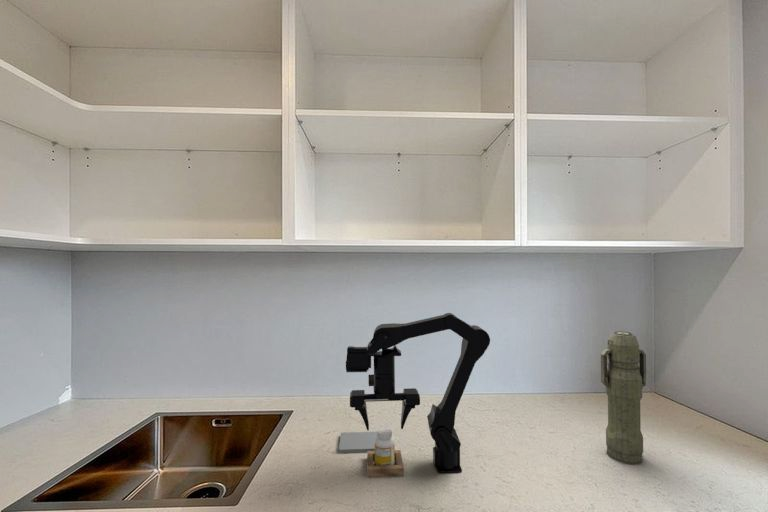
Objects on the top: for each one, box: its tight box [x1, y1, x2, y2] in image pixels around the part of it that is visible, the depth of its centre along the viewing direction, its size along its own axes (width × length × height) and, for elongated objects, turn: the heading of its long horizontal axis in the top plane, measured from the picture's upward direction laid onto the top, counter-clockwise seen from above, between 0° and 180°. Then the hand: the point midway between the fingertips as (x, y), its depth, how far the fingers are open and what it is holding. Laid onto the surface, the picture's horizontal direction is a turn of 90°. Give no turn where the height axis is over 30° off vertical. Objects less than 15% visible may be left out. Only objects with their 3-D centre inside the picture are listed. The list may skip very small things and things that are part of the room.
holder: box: [366, 449, 405, 478], centre depth 104 cm, size 9×9×2 cm
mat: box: [338, 431, 377, 454], centre depth 117 cm, size 12×11×1 cm
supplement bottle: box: [374, 427, 396, 466], centre depth 104 cm, size 5×5×10 cm
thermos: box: [600, 330, 647, 466], centre depth 108 cm, size 9×12×35 cm
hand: (384, 429), depth 104 cm, fingers open, 9 cm apart
